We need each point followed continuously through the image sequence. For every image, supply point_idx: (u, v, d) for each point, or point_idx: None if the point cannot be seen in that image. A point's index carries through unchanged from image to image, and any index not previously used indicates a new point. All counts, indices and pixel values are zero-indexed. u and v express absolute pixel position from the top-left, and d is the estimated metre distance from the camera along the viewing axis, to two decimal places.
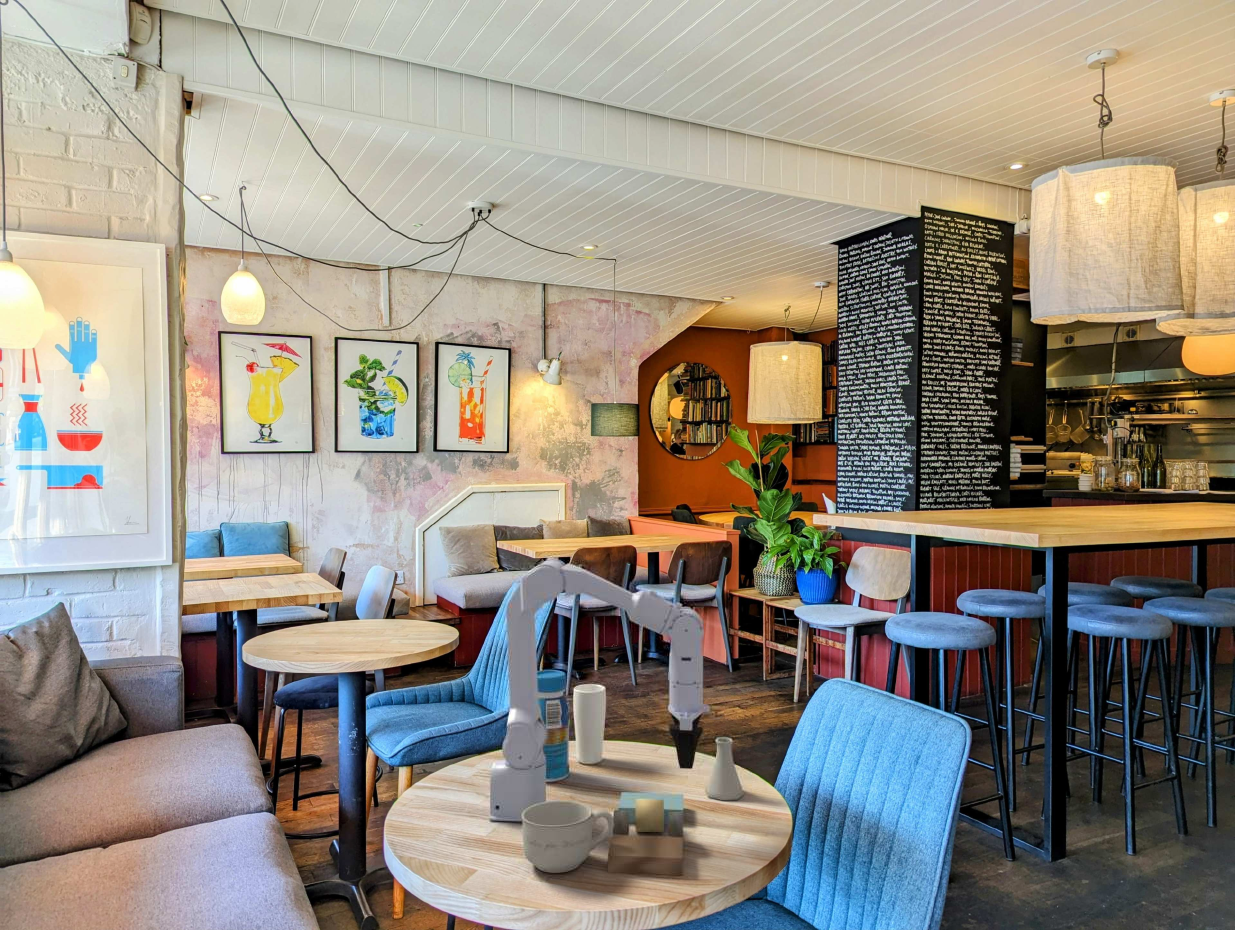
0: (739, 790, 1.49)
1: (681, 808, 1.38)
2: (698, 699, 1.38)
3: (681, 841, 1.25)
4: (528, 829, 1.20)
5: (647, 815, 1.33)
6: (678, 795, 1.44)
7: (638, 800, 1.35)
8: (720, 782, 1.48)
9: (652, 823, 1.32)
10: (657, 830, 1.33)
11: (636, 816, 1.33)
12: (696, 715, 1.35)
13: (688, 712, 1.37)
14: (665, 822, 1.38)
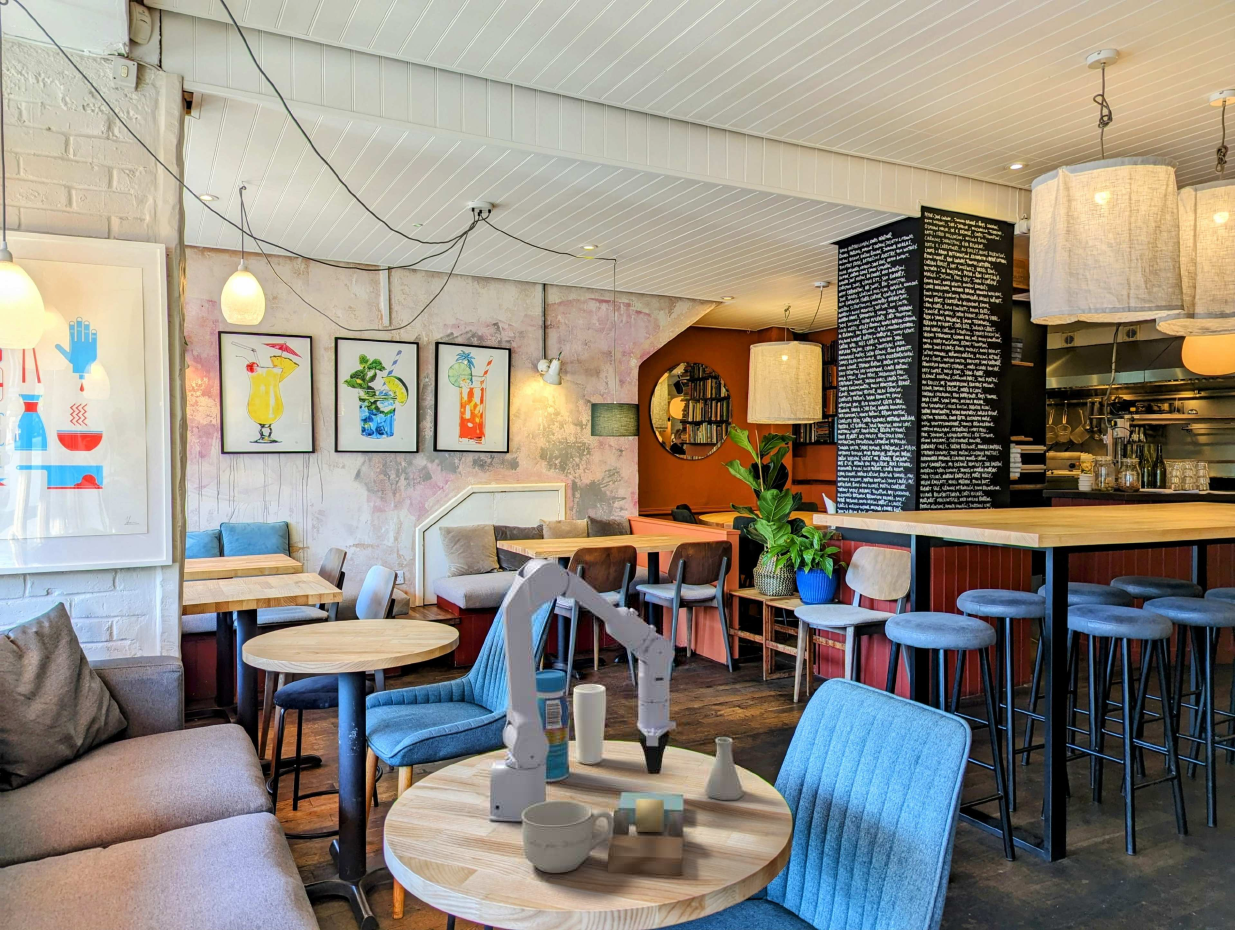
0: (739, 790, 1.49)
1: (681, 808, 1.38)
2: (664, 716, 1.48)
3: (681, 841, 1.25)
4: (528, 829, 1.20)
5: (647, 815, 1.33)
6: (678, 795, 1.44)
7: (638, 800, 1.35)
8: (720, 782, 1.48)
9: (652, 823, 1.32)
10: (657, 830, 1.33)
11: (636, 816, 1.33)
12: (662, 731, 1.46)
13: (655, 728, 1.47)
14: (665, 822, 1.38)
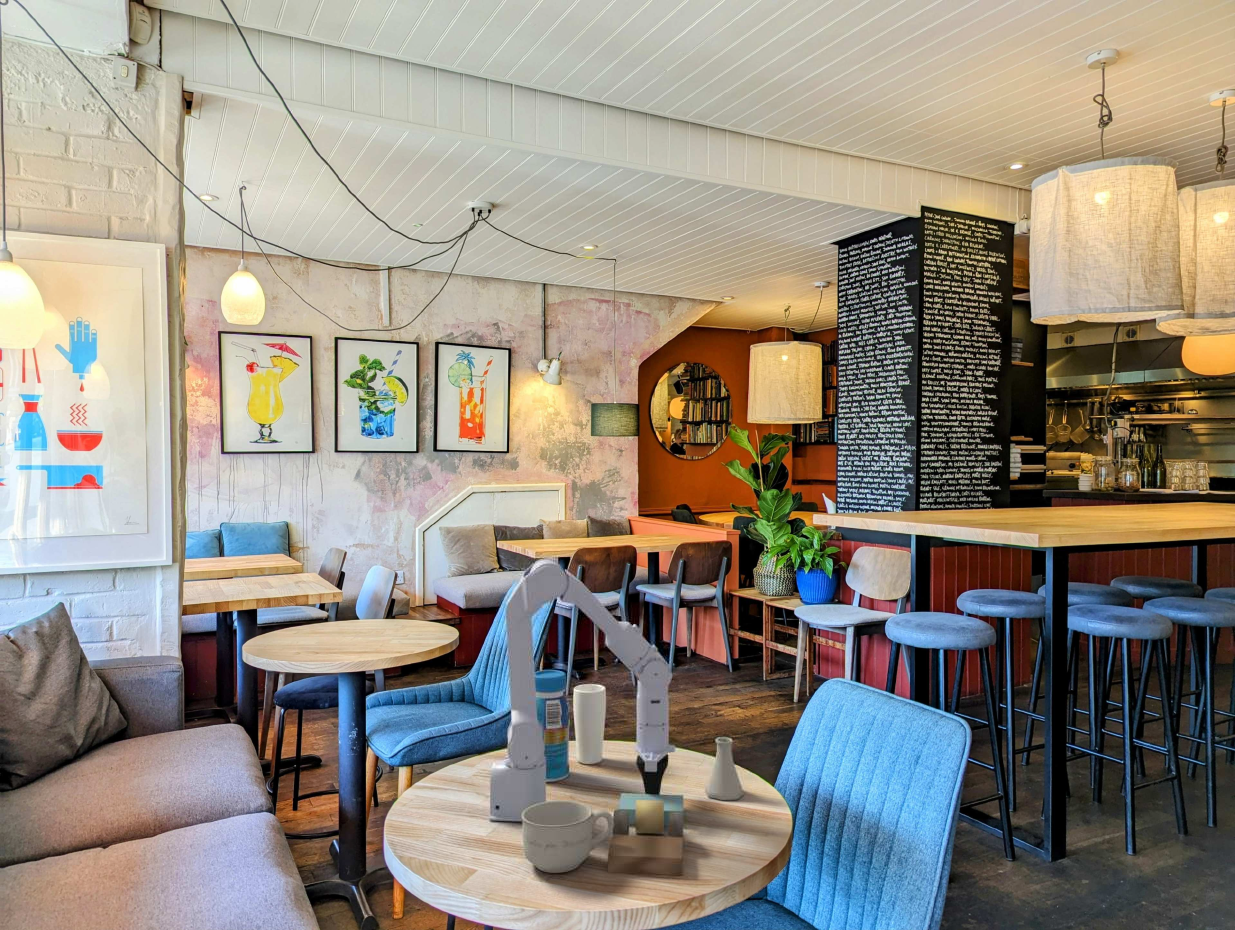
0: (739, 790, 1.49)
1: (681, 809, 1.37)
2: (663, 740, 1.43)
3: (681, 841, 1.25)
4: (528, 829, 1.20)
5: (647, 816, 1.32)
6: (678, 796, 1.43)
7: (638, 802, 1.34)
8: (720, 782, 1.48)
9: (652, 825, 1.32)
10: (657, 832, 1.32)
11: (636, 818, 1.32)
12: (661, 756, 1.41)
13: (654, 753, 1.42)
14: (665, 823, 1.37)
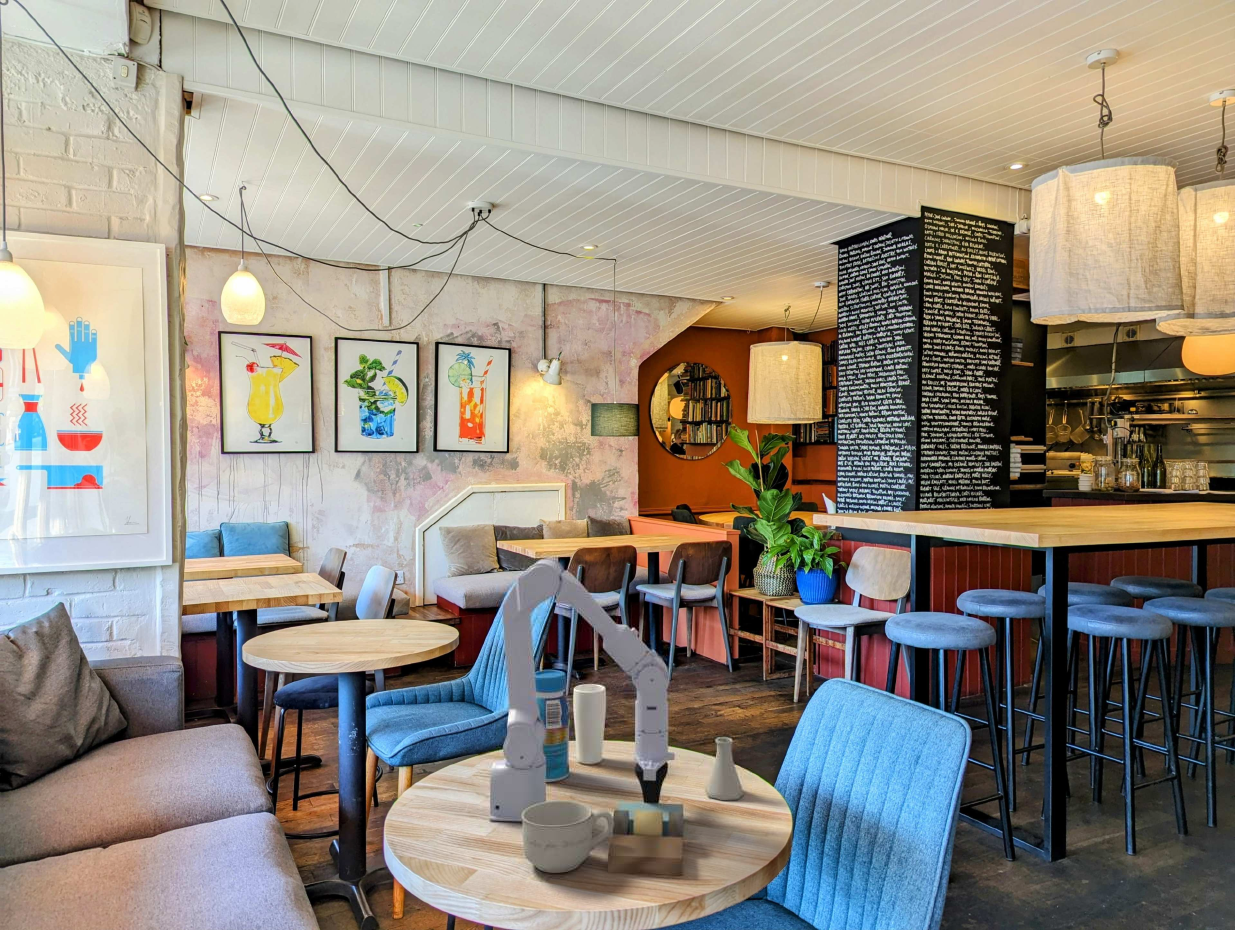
0: (739, 790, 1.49)
1: None
2: (662, 747, 1.39)
3: (681, 841, 1.25)
4: (528, 829, 1.20)
5: (646, 827, 1.28)
6: (678, 805, 1.39)
7: (636, 812, 1.30)
8: (720, 782, 1.48)
9: None
10: None
11: (634, 829, 1.28)
12: (660, 764, 1.37)
13: (653, 761, 1.38)
14: (664, 834, 1.33)
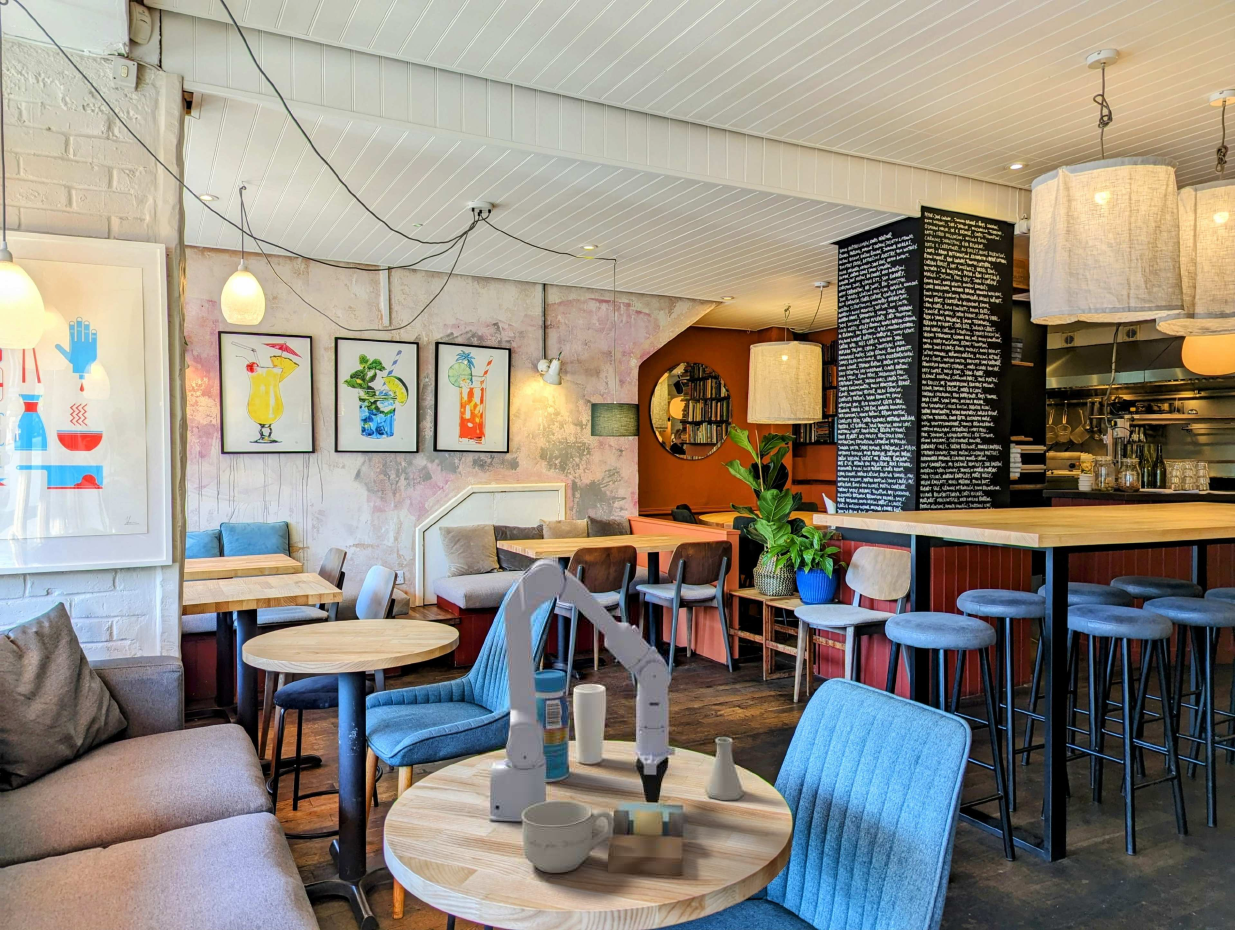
0: (739, 790, 1.49)
1: None
2: (663, 742, 1.42)
3: (681, 841, 1.25)
4: (528, 829, 1.20)
5: (646, 827, 1.28)
6: (678, 806, 1.39)
7: (636, 812, 1.30)
8: (720, 782, 1.48)
9: None
10: None
11: (634, 829, 1.28)
12: (661, 759, 1.39)
13: (653, 755, 1.41)
14: (664, 834, 1.33)
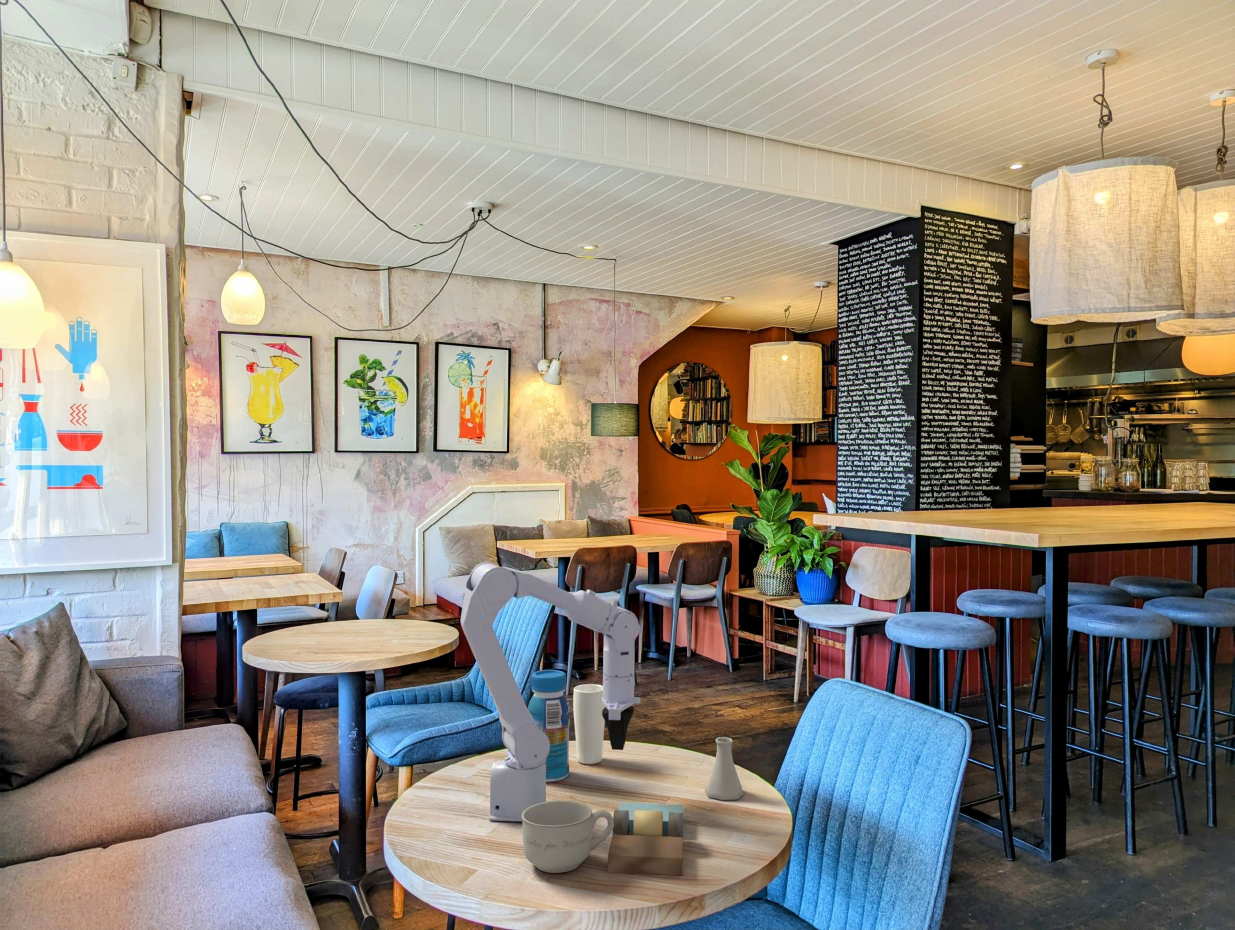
0: (739, 790, 1.49)
1: None
2: (628, 691, 1.46)
3: (681, 841, 1.25)
4: (528, 829, 1.20)
5: (646, 827, 1.28)
6: (678, 806, 1.39)
7: (636, 812, 1.30)
8: (720, 782, 1.48)
9: None
10: None
11: (634, 829, 1.28)
12: (625, 706, 1.44)
13: (619, 703, 1.46)
14: (664, 834, 1.33)
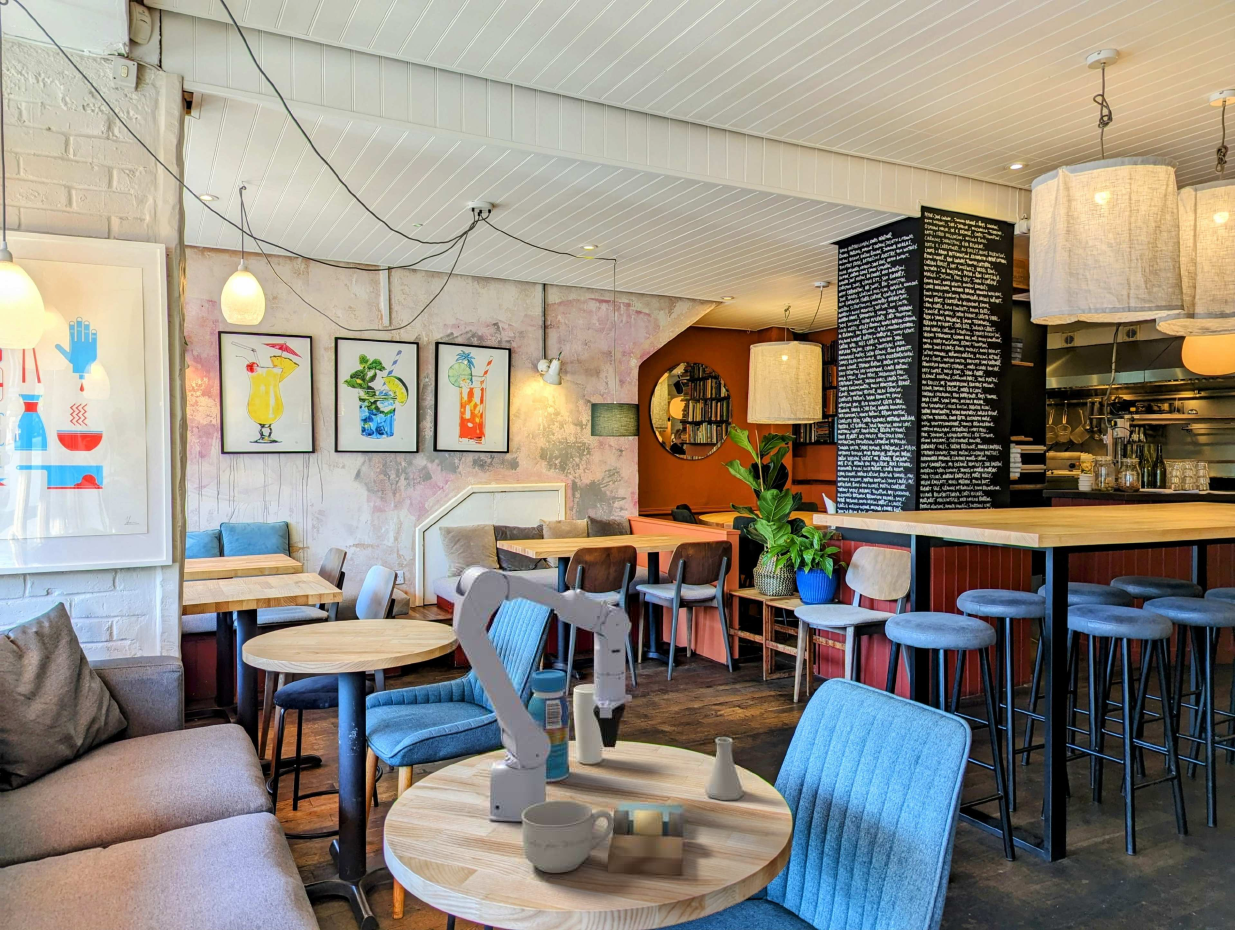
0: (739, 790, 1.49)
1: None
2: (619, 689, 1.47)
3: (681, 841, 1.25)
4: (528, 829, 1.20)
5: (646, 827, 1.28)
6: (678, 806, 1.39)
7: (636, 812, 1.30)
8: (720, 782, 1.48)
9: None
10: None
11: (634, 829, 1.28)
12: (617, 704, 1.45)
13: (610, 701, 1.46)
14: (664, 834, 1.33)
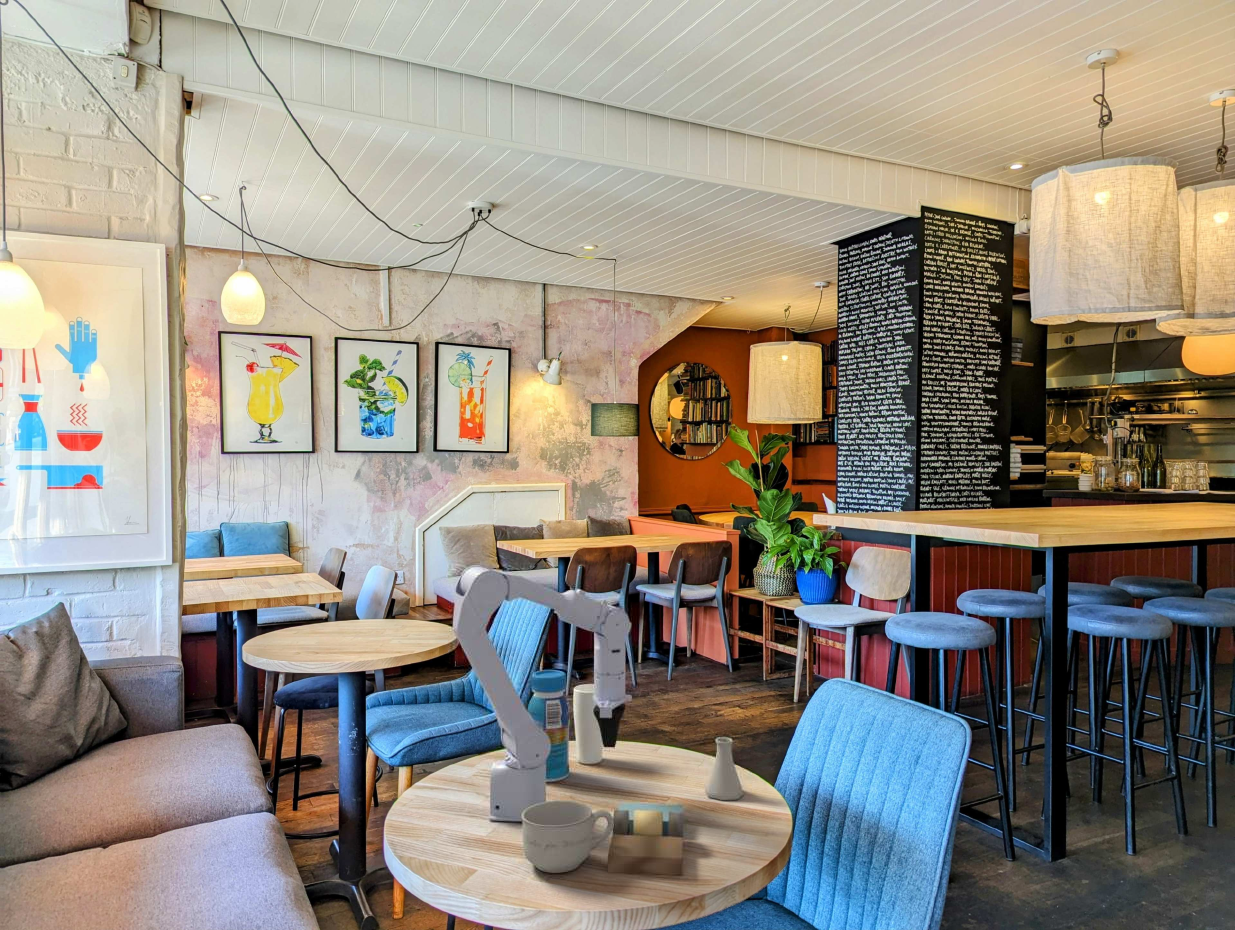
0: (739, 790, 1.49)
1: None
2: (619, 689, 1.47)
3: (681, 841, 1.25)
4: (528, 829, 1.20)
5: (646, 827, 1.28)
6: (678, 806, 1.39)
7: (636, 812, 1.30)
8: (720, 782, 1.48)
9: None
10: None
11: (634, 829, 1.28)
12: (617, 704, 1.45)
13: (610, 701, 1.46)
14: (664, 834, 1.33)
